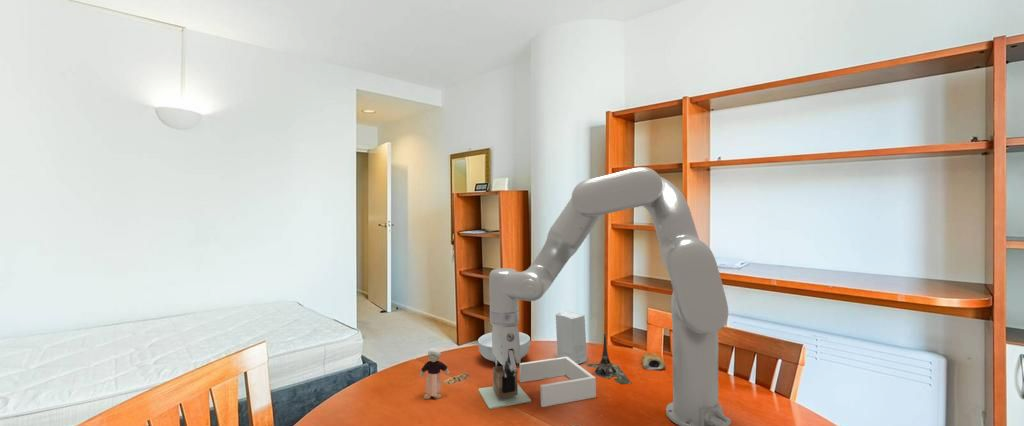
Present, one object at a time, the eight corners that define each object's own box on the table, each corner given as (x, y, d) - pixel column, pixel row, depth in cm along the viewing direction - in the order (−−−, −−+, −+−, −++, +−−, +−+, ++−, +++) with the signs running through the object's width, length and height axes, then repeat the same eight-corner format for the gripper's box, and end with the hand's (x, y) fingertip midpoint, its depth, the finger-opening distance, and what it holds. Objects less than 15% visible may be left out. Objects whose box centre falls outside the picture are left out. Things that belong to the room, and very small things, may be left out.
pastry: (639, 358, 129) (639, 347, 129) (660, 360, 128) (660, 348, 128) (643, 370, 120) (643, 357, 120) (666, 371, 119) (666, 359, 119)
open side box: (595, 397, 103) (595, 377, 103) (542, 407, 98) (542, 386, 98) (567, 373, 118) (567, 356, 118) (519, 381, 113) (519, 363, 113)
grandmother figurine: (420, 401, 101) (419, 351, 101) (419, 395, 105) (418, 346, 105) (450, 397, 103) (449, 348, 103) (448, 391, 107) (448, 344, 107)
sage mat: (531, 401, 101) (531, 400, 101) (489, 409, 97) (489, 407, 97) (516, 383, 111) (516, 382, 111) (478, 390, 108) (478, 388, 108)
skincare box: (587, 362, 127) (586, 315, 126) (573, 366, 123) (572, 318, 123) (569, 354, 134) (569, 309, 133) (555, 358, 130) (555, 312, 130)
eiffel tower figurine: (632, 385, 110) (632, 337, 110) (596, 386, 110) (595, 338, 110) (616, 365, 125) (616, 322, 125) (584, 365, 125) (584, 323, 125)
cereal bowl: (509, 347, 141) (509, 327, 141) (541, 361, 128) (540, 339, 128) (468, 358, 131) (468, 337, 131) (498, 374, 118) (497, 350, 118)
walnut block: (517, 394, 102) (517, 371, 102) (498, 398, 100) (498, 374, 100) (511, 386, 106) (511, 364, 106) (493, 389, 105) (493, 366, 105)
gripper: (530, 324, 96) (530, 399, 96) (507, 308, 112) (508, 372, 112) (500, 327, 94) (501, 404, 94) (481, 310, 110) (482, 376, 110)
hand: (505, 386), depth 103 cm, fingers closed on walnut block, 4 cm apart
